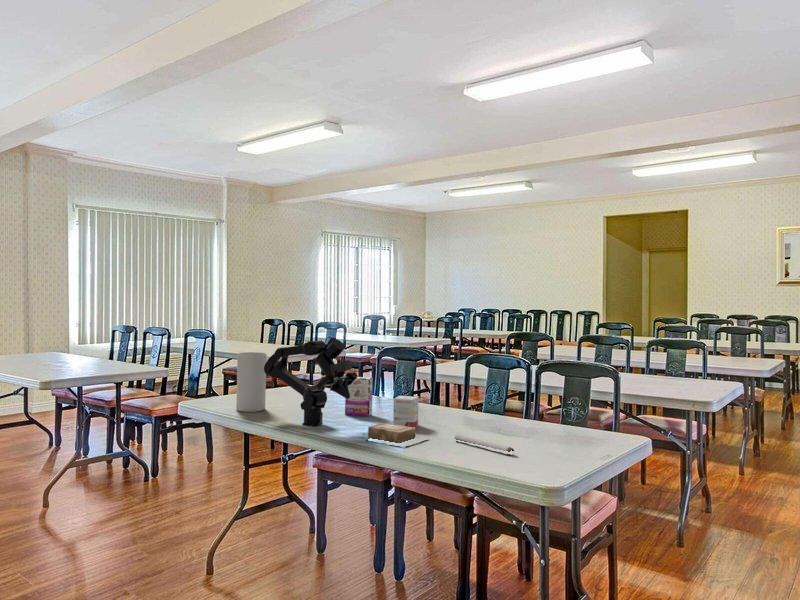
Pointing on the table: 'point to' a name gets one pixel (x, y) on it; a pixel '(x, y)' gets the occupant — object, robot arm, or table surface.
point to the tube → (482, 442)
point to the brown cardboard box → (391, 432)
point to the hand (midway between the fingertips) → (348, 398)
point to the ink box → (405, 411)
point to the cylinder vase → (251, 382)
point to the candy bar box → (360, 397)
